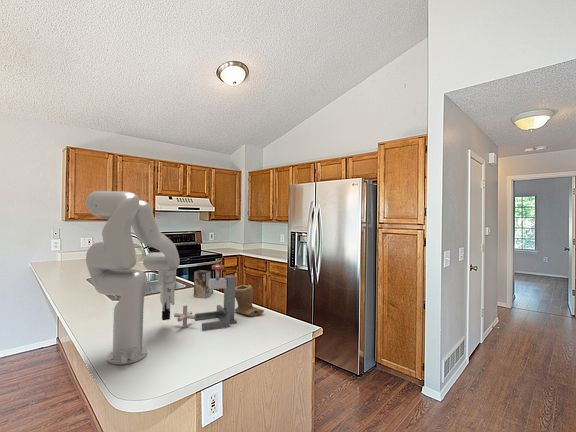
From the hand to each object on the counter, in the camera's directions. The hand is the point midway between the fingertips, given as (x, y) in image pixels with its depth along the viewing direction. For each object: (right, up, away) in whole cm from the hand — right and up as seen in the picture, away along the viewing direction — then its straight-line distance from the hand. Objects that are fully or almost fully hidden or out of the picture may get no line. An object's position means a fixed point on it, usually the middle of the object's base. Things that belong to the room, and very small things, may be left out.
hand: (165, 319), depth 138 cm
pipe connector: (+7, -5, +4) cm, 10 cm away
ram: (+20, +9, +11) cm, 25 cm away
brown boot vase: (+33, -6, +26) cm, 42 cm away
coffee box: (0, -5, +57) cm, 58 cm away
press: (+20, -5, +11) cm, 24 cm away
